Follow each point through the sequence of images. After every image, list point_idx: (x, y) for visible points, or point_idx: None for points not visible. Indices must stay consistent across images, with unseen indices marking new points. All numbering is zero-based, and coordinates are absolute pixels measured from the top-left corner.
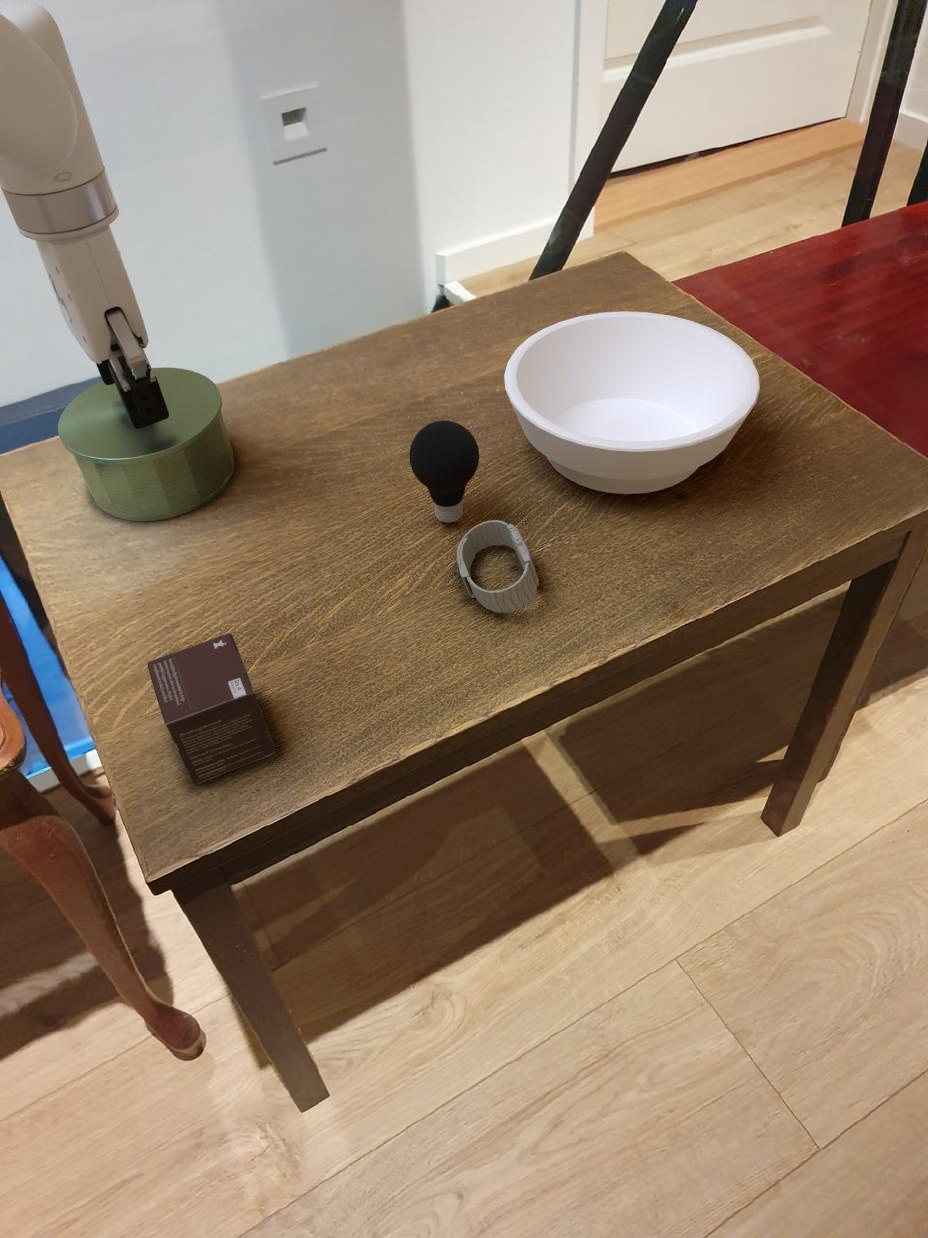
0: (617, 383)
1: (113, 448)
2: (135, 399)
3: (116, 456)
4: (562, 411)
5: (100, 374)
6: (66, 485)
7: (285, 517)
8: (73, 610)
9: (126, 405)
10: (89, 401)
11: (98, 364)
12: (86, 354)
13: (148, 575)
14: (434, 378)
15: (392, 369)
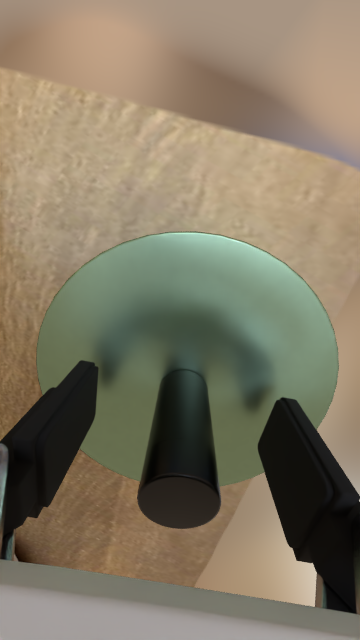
0: None
1: (102, 300)
2: (13, 428)
3: (70, 290)
4: (17, 559)
5: (299, 413)
6: (271, 231)
7: (31, 374)
8: (9, 97)
9: (48, 397)
10: (293, 346)
11: (304, 440)
12: (18, 585)
13: (22, 219)
14: (130, 540)
15: (167, 533)
